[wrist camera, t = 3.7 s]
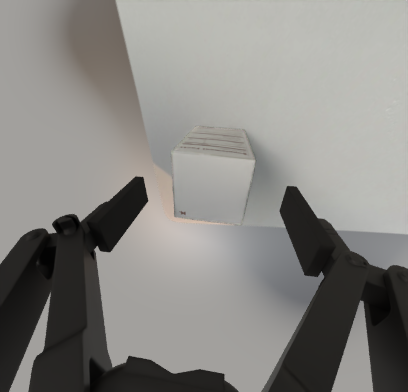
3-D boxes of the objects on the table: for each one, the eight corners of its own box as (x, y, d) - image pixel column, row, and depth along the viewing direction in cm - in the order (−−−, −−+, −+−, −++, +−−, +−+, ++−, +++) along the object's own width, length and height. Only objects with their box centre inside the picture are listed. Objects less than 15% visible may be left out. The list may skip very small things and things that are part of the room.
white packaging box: (237, 175, 28) (242, 228, 17) (193, 170, 29) (171, 219, 18) (246, 128, 24) (259, 160, 13) (194, 123, 25) (168, 150, 14)
